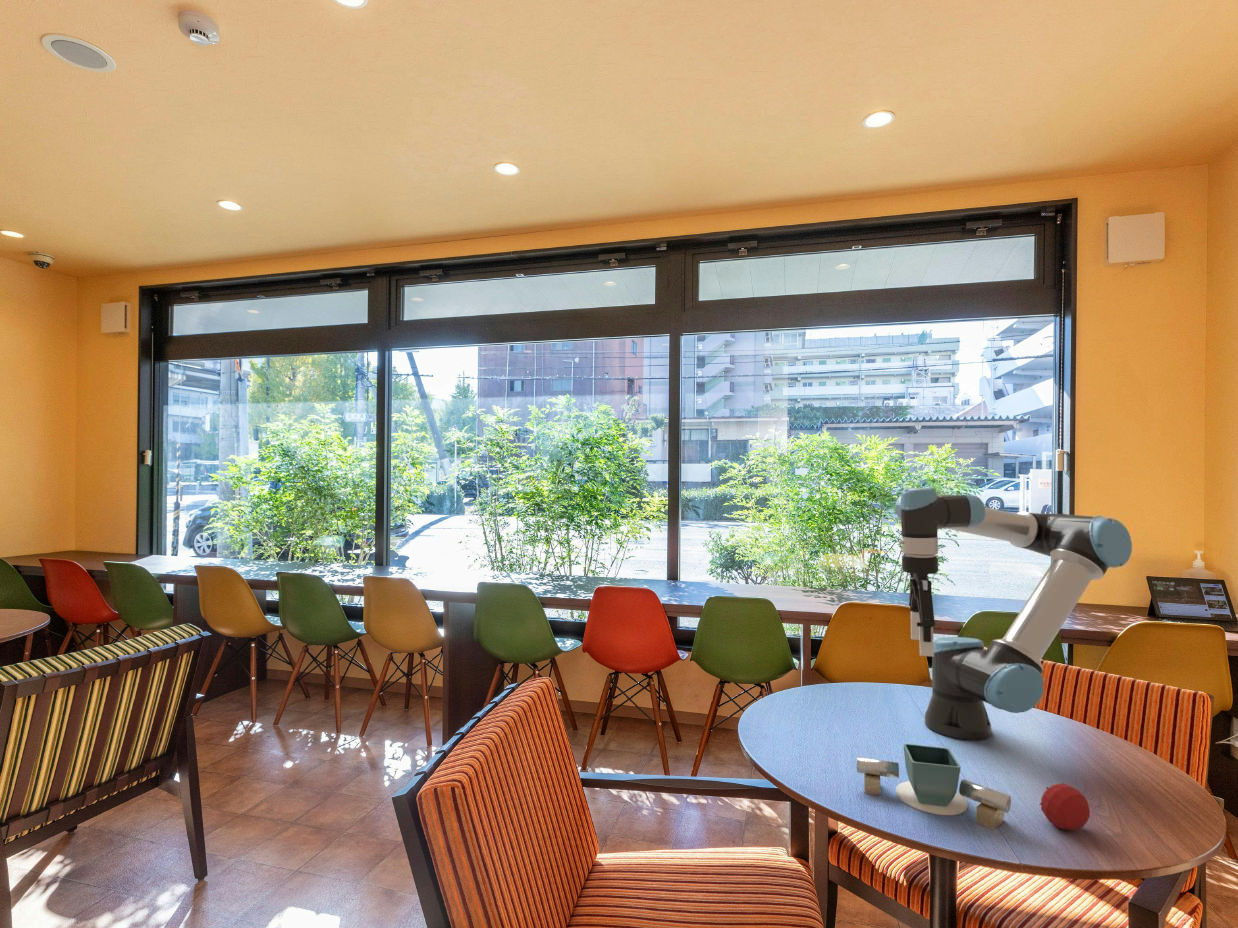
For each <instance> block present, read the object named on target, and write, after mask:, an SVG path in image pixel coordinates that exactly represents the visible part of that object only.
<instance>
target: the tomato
mask: <svg viewBox="0 0 1238 928" xmlns="http://www.w3.org/2000/svg"><path fill="white" fill-rule="evenodd" d="M1039 806H1040V809H1041V812H1042V814H1043V815H1044V816H1045V818H1046V819H1047V820H1048V822H1049V823H1050V824H1052V825H1054V826H1056V827H1057V828H1059V829H1061V830H1064V831H1070V830H1071V831H1075V830H1079V829H1081V828H1083V827H1085V825H1086V824H1087V823H1088V821H1089V819H1090V817H1091V815H1090V813H1091V811H1090V810H1091V809H1090V805H1089V802H1088V800H1087V798H1086V797H1085V796H1084V794H1082V793H1081V791H1080V790H1079V789H1077V788H1075V787H1073V786H1071V785H1068V784H1066V783H1056V784H1053V785H1051V786H1049V787H1046V790H1044V792H1043V793H1042V796H1041V800H1040V803H1039Z"/></svg>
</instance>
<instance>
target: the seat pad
mask: <svg viewBox="0 0 1238 928" xmlns="http://www.w3.org/2000/svg"><path fill="white" fill-rule="evenodd" d="M895 794H896V796H897V798H898V799H899V800H900V801H901V802H902V803H904V804H905V805H907V806H909V807H910V808H913V809H915V810H917V811H920V812H923V813H928V814H930V815H935V816H936V815H937V816H944V817H945V816H948V817H949V816H958V815H961V814H964V813H965V812H966V811H967V810H968V806H969V805H968V802H967V800H966V799H967V798H966V797H964V796H961V795H960V793H959V791H958V792H956V794H955V796H954V798H953V800H952V801H951V802H950V803H949V804H948V805H947V806H940V805H932V804H923V803H920V802H919V801H918V799H917V797H916V795H915V792H914V790H913V788H912V786H911V783H910V781H909V780H908V781H903V782H900V783H898V785H897V786H896V787H895Z"/></svg>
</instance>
